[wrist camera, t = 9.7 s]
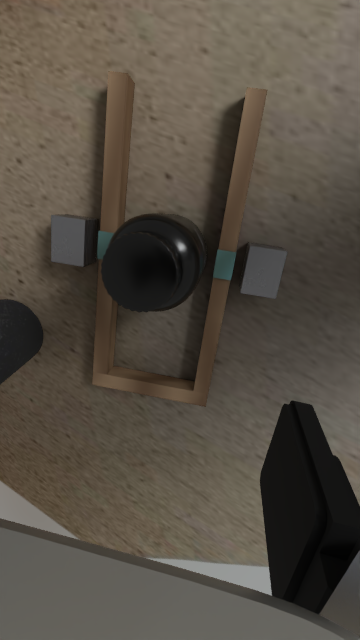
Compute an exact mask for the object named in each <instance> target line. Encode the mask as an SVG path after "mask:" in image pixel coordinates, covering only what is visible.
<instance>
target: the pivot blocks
mask: <svg viewBox="0 0 360 640" xmlns="http://www.w3.org/2000/svg"><path fill="white" fill-rule="evenodd" d="M97 232H98V219H94V218H87V217H81V216H74V215H68V214H65V215H51V261H52V262H58V263H64V264H70V265H76V266H82V267H84V266H87V265H89V264H92V263H94V262H96V253H97ZM286 256H287V251H286V250H284V249H283V248H281V247H275V246H269V245H262V244H256V243H249V242H248V244H247V249H246V254H245V258H244V263H243V268H242V273H241V278H240V283H239V288H240V293H243V294H249V295H255V296H261V297H267V298H273V299H276V296H277V292H278V288H279V284H280V280H281V276H282V272H283V268H284V264H285V260H286Z"/></svg>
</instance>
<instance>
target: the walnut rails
mask: <svg viewBox="0 0 360 640" xmlns="http://www.w3.org/2000/svg"><path fill="white" fill-rule="evenodd" d="M134 85H135V83H134V82H133V80H132V79H131V77H130V76H129V75H128V73H120V72H112V71H108V90H107V109H106V128H105V148H104V167H103V187H102V206H101V226H100V231H98V250H97V258H98V259H99V264H98V284H97V303H96V323H95V342H94V362H93V381H92V385H97V386H102V387H107V388H113V389H118V390H123V391H128V392H133V393H138V394H143V395H148V396H153V397H159V398H164V399H169V400H174V401H179V402H184V403H189V404H194V405H199V406H205V407H206V402H207V397H208V392H209V386H210V381H211V376H212V371H213V366H214V361H215V356H216V351H217V346H218V340H219V335H220V330H221V325H222V320H223V315H224V310H225V305H226V300H227V294H228V289H229V284H230V280H231V278H232V273H233V268H234V263H235V258H236V248H237V243H238V238H239V233H240V228H241V223H242V218H243V213H244V207H245V202H246V197H247V192H248V187H249V182H250V177H251V172H252V166H253V161H254V156H255V151H256V146H257V141H258V136H259V131H260V126H261V120H262V115H263V110H264V105H265V100H266V95H267V90H266V89H257V88H249V87H247V90H246V95H245V101H244V106H243V112H242V118H241V123H240V129H239V135H238V140H237V146H236V152H235V157H234V163H233V169H232V174H231V180H230V186H229V191H228V197H227V203H226V208H225V214H224V220H223V225H222V231H221V237H220V242H219V248H218V251H217V256H216V262H215V268H214V273H213V282H212V288H211V293H210V299H209V305H208V310H207V316H206V322H205V327H204V333H203V339H202V344H201V350H200V356H199V361H198V367H197V373H196V378H195V381H191V380H185V379H180V378H175V377H170V376H164V375H159V374H154V373H148V372H143V371H138V370H133V369H127V368H122V367H117V366H113V363H114V350H115V337H116V324H117V310H118V303H117V302H116V301H114V300H113V299H112V297H111V296H110V295H109V294H108V293H107V289H106V288H105V287H104V282H103V281H102V274H101V269H102V267H101V263H102V261H103V256H104V255H105V253H106V249H107V247H108V244H109V242H110V240H111V238H112V236H113V234H114V233H115V232H116V230H117V229H118V228H119V227H120V226H121V225H122V224H124V218H125V204H126V191H127V178H128V165H129V151H130V138H131V125H132V112H133V98H134Z"/></svg>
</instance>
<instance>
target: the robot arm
mask: <svg viewBox="0 0 360 640" xmlns="http://www.w3.org/2000/svg"><path fill="white" fill-rule="evenodd" d="M260 487H261V496H262V506H263V515H264V524H265V534H266V543H267V552H268V562H269V571H270V580H271V590H272V596H270V595H268V594H265V593H262V592H259V591H256V590H253V589H250V588H246V587H243V586H240V585H236V584H233V583H229V582H226V581H222V580H219V579H216V578H213V577H209V576H206V575H203V574H199V573H196V572H192V571H189V570H186V569H182V568H178V567H175V566H171V565H168V564H164V563H160V562H157V561H153V560H150V559H146V558H143V557H139V556H135V555H132V554H128V553H125V552H121V551H117V550H114V549H110V548H106V547H103V546H99V545H96V544H92V543H88V542H85V541H81V540H78V539H74V538H70V537H67V536H63V535H59V534H56V533H51V532H48V531H45V530H41V529H37V528H33V527H30V526H26V525H22V524H19V523H15V522H11V521H7V520H4V519H0V640H360V506H359V504H358V501H357V499H356V497H355V494H354V492H353V490H352V487H351V485H350V483H349V480H348V478H347V476H346V473H345V471H344V469H343V466H342V464H341V462H340V460H339V459H338V457H336V456H334V455H333V454H332V452H331V450H330V447H329V445H328V442H327V440H326V437H325V435H324V433H323V430H322V428H321V425H320V423H319V420H318V418H317V416H316V413H315V411H314V408H313V406H312V405H310V404H306V403H301V402H297V401H291V402H290V404H289V405H288V404H284V405H283V407H282V409H281V413H280V416H279V419H278V422H277V425H276V428H275V431H274V434H273V437H272V440H271V443H270V446H269V449H268V452H267V455H266V458H265V461H264V464H263V468H262V471H261V476H260Z"/></svg>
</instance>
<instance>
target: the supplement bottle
mask: <svg viewBox="0 0 360 640" xmlns="http://www.w3.org/2000/svg"><path fill="white" fill-rule="evenodd" d="M206 260H207V246H206V241H205V239H204V236H203V234H202V232H201V231H200V229H199V228H198V227H197V226H196V225H195V224H194V223H193V222H191V221H190V220H189V219H187V218H185V217H182V216H179V215H174V214H144V215H140V216H137V217H134V218H132V219H130V220H128V221H126V222H125V223H124V224H122V225H121V226H120V227H119V228H118V229H117V230H116V232H115V233H114V234H113V236H112V238H111V240H110V242H109V244H108V247H107V249H106V253H105V255H104V256H103V261H102V263H101V267H102V269H101V274H102V281H103V282H104V287H105V288H106V289H107V293H108V294H109V295H110V296H111V297H112V299H113V300H114V301H116V302H117V303H118V305H122V306H123V307H124V308H126V309H130V310H131V311H137V312H142V311H144V312H148V311H155V312H157V311H165V310H169V309H172V308H174V307H176V306H178V305H180V304H181V303H182V302H184V301H185V300H186V299H187V298H188V297H189V296H190V295H191V294H192V292H193V291H194V289H195V288H196V286H197V284H198V281H199V279H200V277H201V274H202V272H203V270H204V267H205V264H206Z"/></svg>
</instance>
